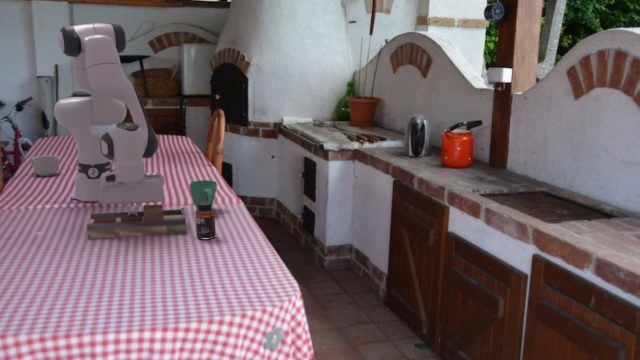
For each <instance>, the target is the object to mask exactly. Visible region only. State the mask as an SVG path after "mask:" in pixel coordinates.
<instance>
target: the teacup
mask: <svg viewBox="0 0 640 360" xmlns="http://www.w3.org/2000/svg"><path fill="white" fill-rule="evenodd" d="M29 160H30V161H29V162H30V164H31V166H32V167H33V170H34V173H35V174H36V175H38V176H39V175H40V176H39V177H44V176H46V177H51V176H50V175H53V176H55V175H56V174H57V173H58V172H60V171H59V170H60V159H59V156H58V155H50V154H49V155H40V156H32V157H31V158H30V159H29Z"/></svg>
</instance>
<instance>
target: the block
mask: <svg viewBox="0 0 640 360" xmlns="http://www.w3.org/2000/svg"><path fill="white" fill-rule="evenodd" d="M163 210H164V206H163V203H160V204H144V205H143V211H144V221H157V220H163Z"/></svg>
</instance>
